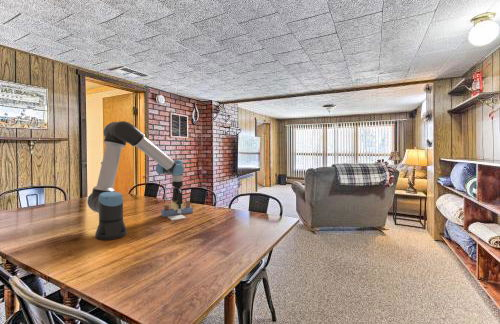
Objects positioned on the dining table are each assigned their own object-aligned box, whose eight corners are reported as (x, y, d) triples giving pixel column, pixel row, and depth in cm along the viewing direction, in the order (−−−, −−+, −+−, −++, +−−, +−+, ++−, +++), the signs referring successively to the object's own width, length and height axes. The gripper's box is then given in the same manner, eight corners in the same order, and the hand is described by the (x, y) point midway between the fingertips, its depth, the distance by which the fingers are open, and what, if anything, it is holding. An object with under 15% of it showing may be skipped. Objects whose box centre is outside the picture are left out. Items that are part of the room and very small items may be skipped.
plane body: (192, 212, 191) (192, 200, 191) (163, 216, 178) (163, 204, 178) (190, 211, 195) (190, 199, 195) (161, 215, 183) (161, 202, 182)
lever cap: (183, 208, 186) (184, 201, 186) (173, 210, 182) (173, 202, 182) (180, 207, 192) (180, 199, 191) (170, 208, 187) (170, 201, 187)
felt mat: (186, 218, 176) (186, 217, 176) (171, 220, 170) (171, 219, 170) (181, 215, 183) (181, 214, 183) (167, 217, 177) (167, 216, 177)
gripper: (187, 182, 180) (187, 214, 181) (177, 179, 196) (177, 208, 197) (177, 182, 176) (177, 215, 177) (168, 179, 191) (168, 210, 193)
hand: (177, 212), depth 187 cm, fingers closed on lever cap, 6 cm apart
